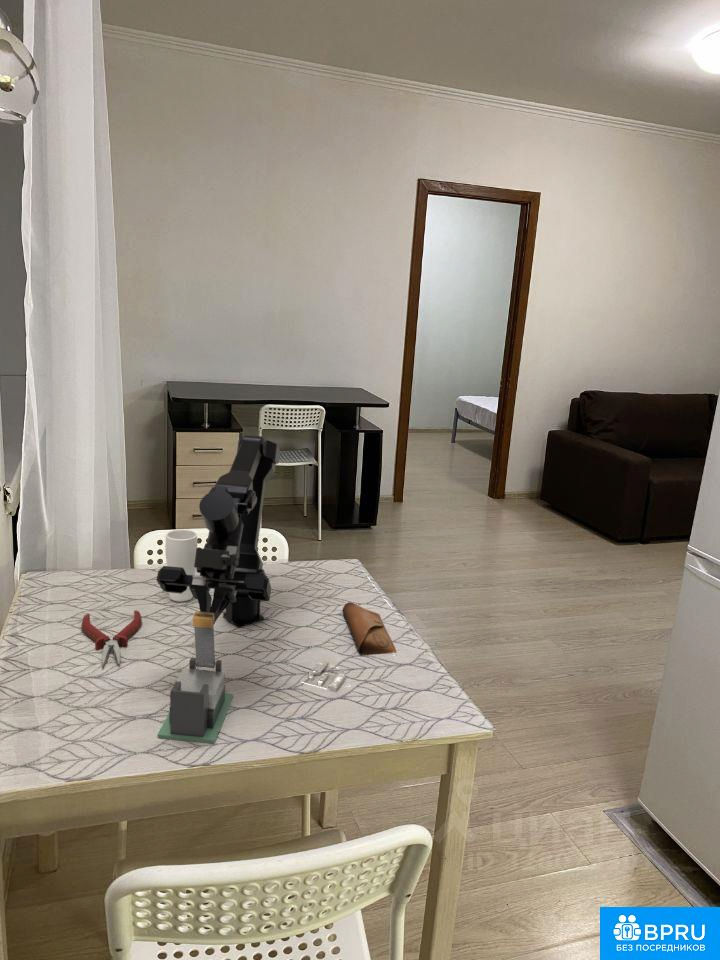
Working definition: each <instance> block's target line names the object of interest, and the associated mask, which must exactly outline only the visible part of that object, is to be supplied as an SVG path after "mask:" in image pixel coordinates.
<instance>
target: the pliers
mask: <svg viewBox="0 0 720 960" xmlns="http://www.w3.org/2000/svg"><path fill="white" fill-rule="evenodd" d="M90 614H91V613H86V614H85V615H84V616H83V617H82V620H81V630H82V632H83V634H85V636H87V637H88V638H89V637H90V638H89V639H91V640H92V641H93V642H94V641H95V642H94V646H95V647H94V649H95V650H96V651H100V649H101V650H102V653H101V667H102V668H104V666H105V665H106V663H107V662H108V659H109V657H110V656H109V654H111V653H113V652H114V653H113V658H114V659H115V662H116V663H117V665H118V666H120V663H121V650H120V648H122V647H126V648H127V647H128V644H129V642H128V641H129V639H130V638H131V637H132V636H133V635H135V634H136V633H137V632H138V631H139V630H138V629H140V628H141V626H142V623H143V622H142V616H141V612H140V611H138V610H133V620H132V621H131V622H130V623H128V624H127V625H126V626H125V627H124V628H122V629H121V630H120V631H118V632H117V634H114V636H113V637H112V639H111V637H109V635H107V634H106V633H104V632H103V631H101V630H100V629H98V628H97V627H96V626H94V625H93V624H92V623H91V620H90V619H91V617H90ZM135 632H136V633H135ZM134 633H135V634H134ZM119 647H120V648H119ZM110 652H111V653H110Z"/></svg>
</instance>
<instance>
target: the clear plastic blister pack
mask: <svg viewBox="0 0 720 960" xmlns="http://www.w3.org/2000/svg"><path fill="white" fill-rule="evenodd" d="M318 665H322V666H321V667H320V669H319V670H318V671H317V670H314V669H315V668H316V667H317V666H318ZM328 667H331V668H334V666H332V665H330V663H329V662H327V661H326V662H325V663H323V662H322V663H321V662H317V663H316V664H315V665H314V666H313V667H312V669H311V670H310V671H309V672H308V673H309V674H308V673H307V674H306V676H304V678H303V679H302V680H301V682H300V683H302V684H305V685H309V686H312V687H315V686H316V688H319V689H324V690H327V691H332V692H334V693H336V692H337V691H338V690H339V689H340V687H341V686H342V684H343V683H344V682H345V681H346V679H347V678H346V677H347V674H346V673H345V670H344V668H343V667H342V668H340V667H337V666H335V667H336V669H339V671H338V673H336V675H335V676H334V678H333V679H332V680H331V681H330V683H329V684H328V686H327V688H325V687H323V685H324V684H325V683H326V681H327V680H328V679H329V677H330V673H328V672H324V673H323V674H322V677H320V678H319V680H318V681H317V685H313V684H311V683H306V682H304V681H305V680H306V679H307V680H308V681H310V680H312V681H314V680H315V674H316V676H317V677H318V676H321V673H322V672H323V671H325V670H326V669H327V668H328Z"/></svg>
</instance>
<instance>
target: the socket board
mask: <svg viewBox="0 0 720 960" xmlns="http://www.w3.org/2000/svg"><path fill="white" fill-rule="evenodd" d="M222 662H223V660H220V659H217V660H215V667H214V669H215V670H214V671H219V672H222V665H223V664H222ZM188 667H189V668H188V669H197V666H196V657H190V659H189V666H188ZM169 691H170V692H169V694H170V702H169V703H170V706H169V708H170V724H169V713H168V715H167V716H166V718H165V720H164V722H163V723H162V725H161V727H160V728H159V731H158V733H157V734H156V735H157V739H164V740H175V741H185V742H197V743H205V744H206V743H207V744H215V743H216V740H217V738H218V737H219V734H218V733H220V731H221V728H222V726H223V723H224V721H225V718H226V716H227V714H228V711H229V708H230V706H231V704H232V701H233V698H234V694H233V693H228V692H225V701H224V703H223V706H222V708H221V710H220V713H219V715H218V717H217V720H216V722H215V725H214V727H213V729H212V728H207V713H208V694H209V685H208V684H203V686H202V688H201V690H200V692H189V691H181V682H177V680H175V683H174V684H173V686H172V688H171V690H169Z"/></svg>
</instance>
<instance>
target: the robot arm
mask: <svg viewBox="0 0 720 960" xmlns="http://www.w3.org/2000/svg"><path fill="white" fill-rule="evenodd" d="M236 448H237V449H236V455H235V457H234V459H233V461H232V464H231V467H230V470H229V472H227V473H226V474H222V475H221V476H219V478H218V479H217V480H216V483H215V484H214V486H213V487H211V489H210V491H209V492H208V493H207V494H205V495H204V496H203V497H202V499H201V500H200V501H199V511H200V514H201V517H202V520H203V522H204V524H205V527H206V529H207V530H208V535H207V540H206V543H204V546H203V548H202V547H199V548H198V547H197V548H196V555H195V563H194V567H196V569H195V572H197V573H198V574H199V575H196V574H195V575H187V574H186V572H185V571H184V569H183V568H181V567H170V566H167V565H163V566H161V568H160V569H159V570H158V571H157V576H156V579H155V580H156V582H157V584H158V586H160V588H161V590H162V592H165V593H169V592H170V593H183V592H184V591H186V590H187V586H189V589H190V591H191V593H192V595H193V597H192V598H194V599H195V600H197V602H198V607H199V612H209V613H214V624H216V622H217V621H218V618H219V617H220V616H221V615H222V616H223V617H224V619H226V620H228V621H229V622H231V623H232V624H233V625H235V626H236V627H237V628H242V627H245V626H248V625H251V624H255V623H257V622H261V621H265V617H264V615H262V614H261V602H269V601H270V599H271V593H272V586H271V582H270V579H269V577H268V576H267V575H266V572H265V569H263V568H264V567H263V566H264V565H263V564H264V562H263V560H262V557H261V556H260V553H259V551H258V546H259V538H260V531H261V530H260V529H261V525H262V523H261V522H262V515H263V508H264V500H265V492H266V486H267V483H268V481H270V479H271V478H272V477H273V476H274V474H275V472H276V466H277V465H279V462H280V454H281V453H280V451H281V450H280V447H279V444H277V443H276V442H273V441H270V440H268V439H267V438H266V437H263V436H262V435H253V434H252V435H251V434H244V435H241V436H240V439H239V440H238V441H237V447H236ZM239 515H240V517H239ZM211 589H212V590H213V597H212V596H211V594H210V591H211ZM224 611H225V612H224ZM223 612H224V613H223Z"/></svg>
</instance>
